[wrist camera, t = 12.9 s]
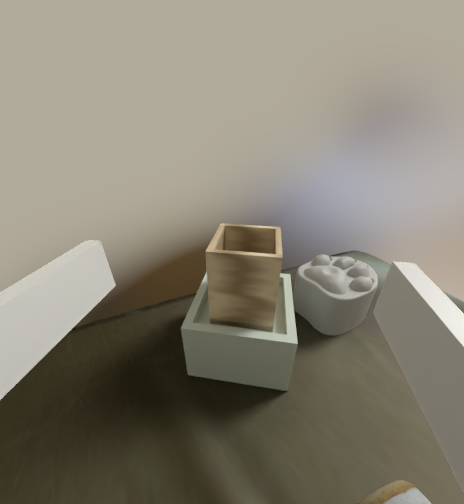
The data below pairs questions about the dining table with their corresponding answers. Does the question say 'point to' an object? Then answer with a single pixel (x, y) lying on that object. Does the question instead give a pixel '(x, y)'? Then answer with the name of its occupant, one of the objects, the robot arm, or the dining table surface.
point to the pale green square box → (241, 344)
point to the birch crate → (244, 275)
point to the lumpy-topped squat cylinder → (334, 293)
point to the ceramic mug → (396, 495)
